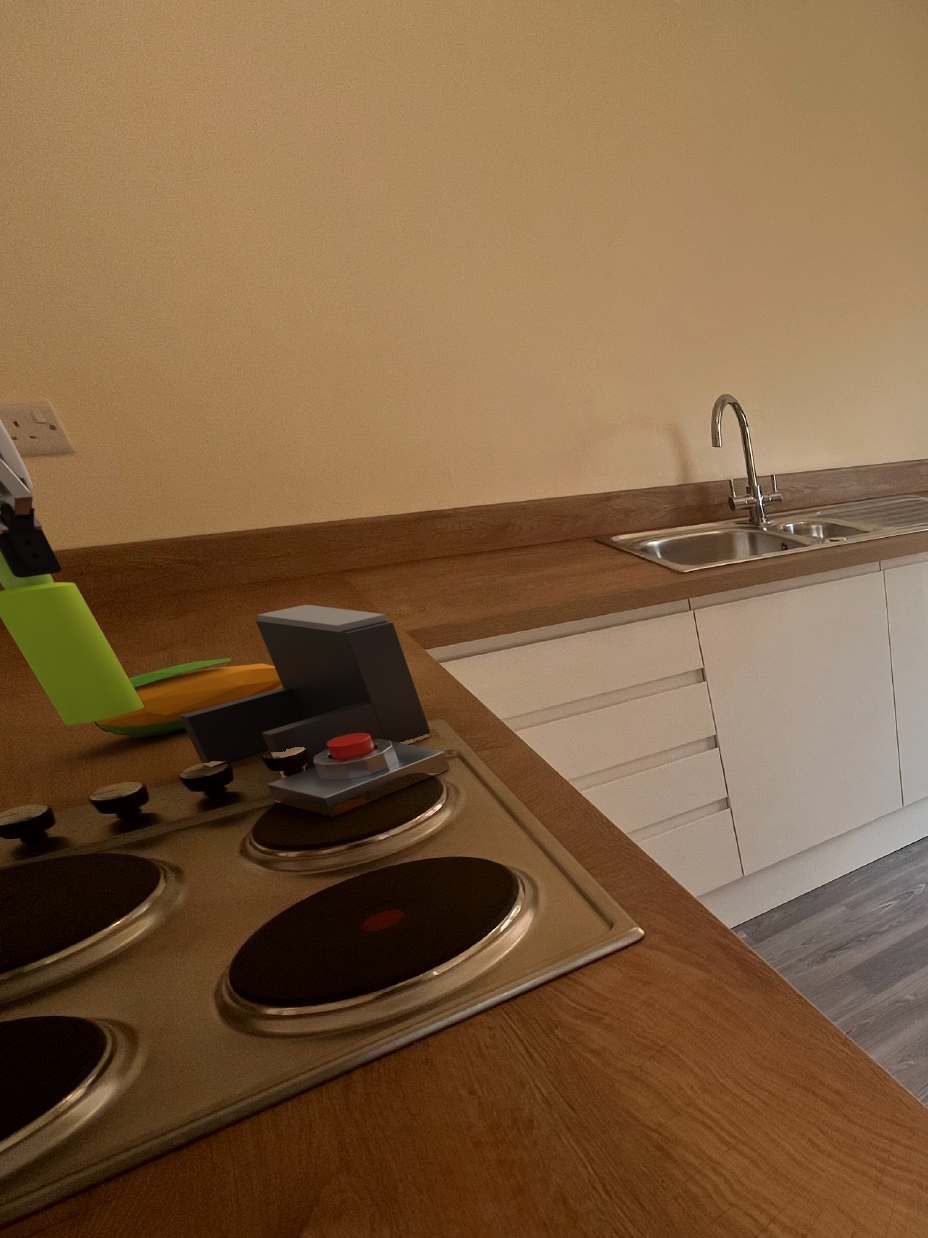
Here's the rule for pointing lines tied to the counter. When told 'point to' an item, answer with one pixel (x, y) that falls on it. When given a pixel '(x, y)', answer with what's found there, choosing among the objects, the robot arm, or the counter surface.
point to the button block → (357, 773)
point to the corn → (187, 695)
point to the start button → (350, 746)
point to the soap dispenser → (65, 648)
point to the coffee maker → (317, 688)
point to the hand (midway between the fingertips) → (22, 570)
